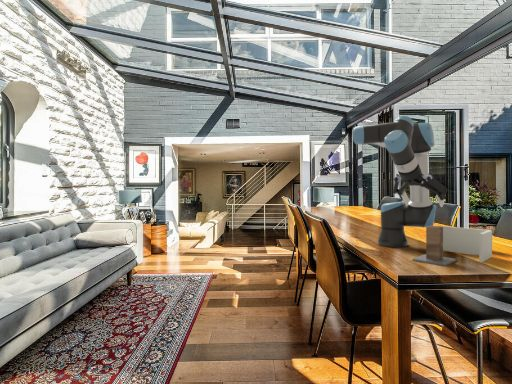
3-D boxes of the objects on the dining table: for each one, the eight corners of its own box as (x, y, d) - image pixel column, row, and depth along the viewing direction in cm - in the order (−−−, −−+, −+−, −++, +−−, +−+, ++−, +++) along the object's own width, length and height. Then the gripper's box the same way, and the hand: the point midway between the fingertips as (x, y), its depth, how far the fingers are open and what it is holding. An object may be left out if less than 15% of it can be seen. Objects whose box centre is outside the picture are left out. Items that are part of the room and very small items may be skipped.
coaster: (412, 260, 141) (412, 258, 140) (424, 255, 149) (424, 254, 149) (444, 266, 131) (444, 264, 131) (456, 260, 139) (456, 258, 139)
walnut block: (438, 260, 136) (438, 227, 136) (426, 258, 140) (426, 226, 140) (443, 258, 140) (443, 226, 139) (430, 256, 144) (430, 225, 143)
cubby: (482, 262, 136) (482, 234, 135) (426, 253, 153) (426, 228, 152) (492, 256, 145) (492, 230, 144) (438, 249, 162) (438, 225, 161)
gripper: (373, 174, 130) (392, 209, 140) (440, 172, 111) (456, 212, 121) (380, 161, 133) (397, 196, 143) (446, 157, 114) (461, 198, 124)
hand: (424, 203), depth 132 cm, fingers open, 13 cm apart
